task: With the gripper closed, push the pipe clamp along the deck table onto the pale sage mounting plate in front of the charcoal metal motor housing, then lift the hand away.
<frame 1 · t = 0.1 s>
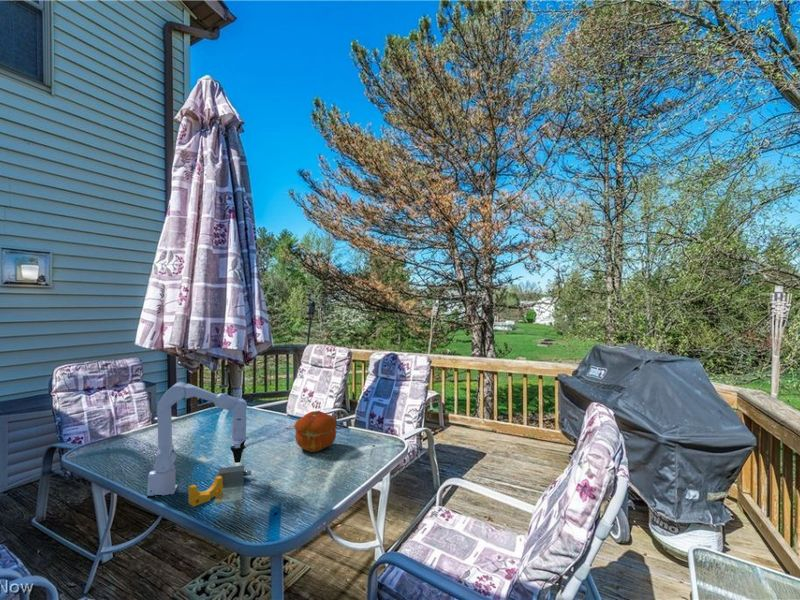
hand: (238, 458, 166), 10 cm above the table, tool pointing down, fingers open, 7 cm apart
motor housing: (229, 491, 158), on the table
pumpkin: (315, 448, 207), on the table
pipe clamp: (206, 499, 151), on the table, touching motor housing
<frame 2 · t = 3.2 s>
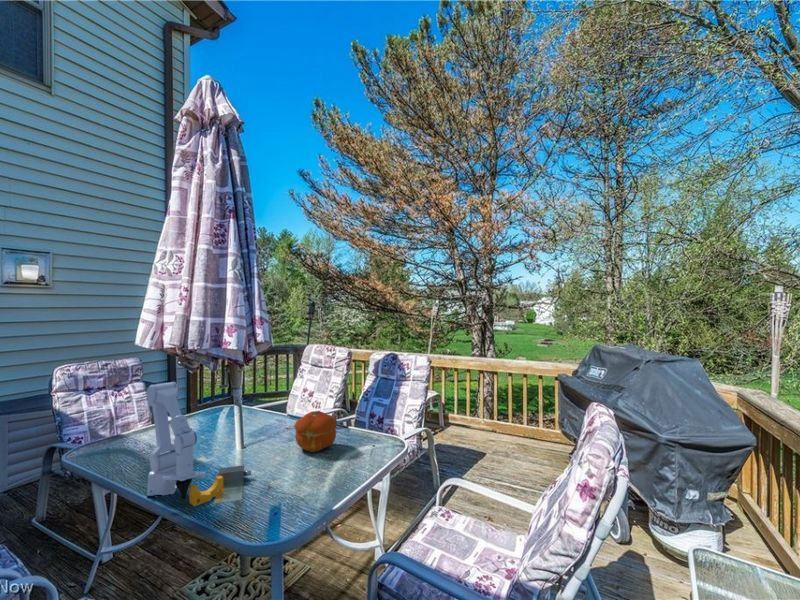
hand: (183, 498, 148), 1 cm above the table, tool pointing down, fingers closed
pipe clamp: (207, 499, 151), on the table, touching gripper, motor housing
everything else where it was.
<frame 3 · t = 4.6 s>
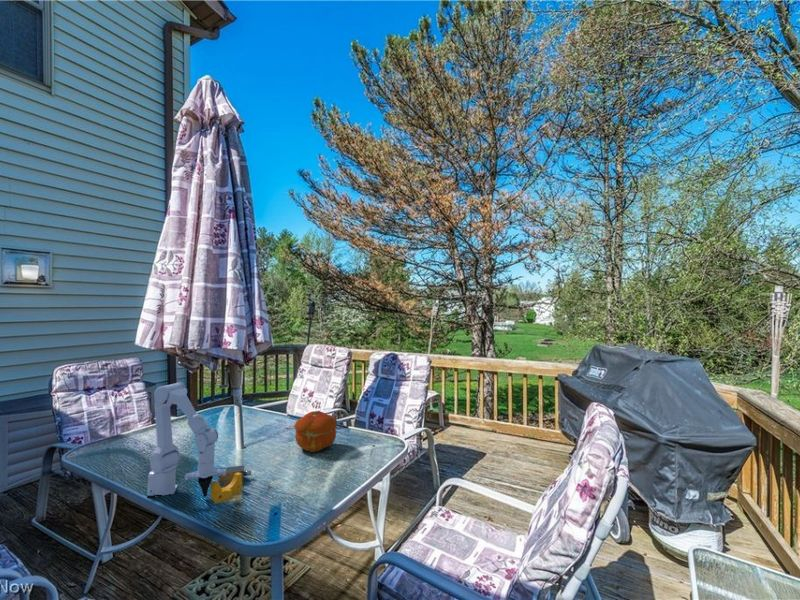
hand: (205, 495, 151), 1 cm above the table, tool pointing down, fingers closed
pipe clamp: (227, 495, 155), resting on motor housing, touching gripper
everything else where it was.
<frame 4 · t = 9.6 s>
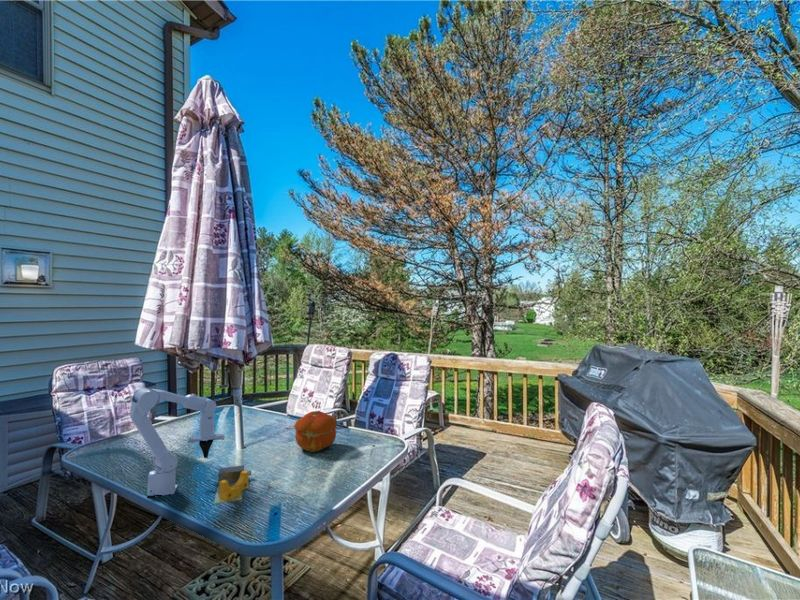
hand: (205, 457, 169), 9 cm above the table, tool pointing down, fingers closed
pipe clamp: (235, 493, 156), resting on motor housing
everything else where it was.
at the end: pipe clamp inside the target area (2.1 cm from its centre), resting on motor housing; pipe clamp moved 10.5 cm from its start; pipe clamp tilted 0° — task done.
